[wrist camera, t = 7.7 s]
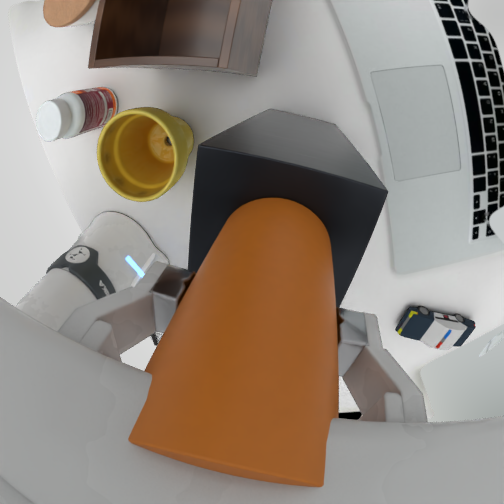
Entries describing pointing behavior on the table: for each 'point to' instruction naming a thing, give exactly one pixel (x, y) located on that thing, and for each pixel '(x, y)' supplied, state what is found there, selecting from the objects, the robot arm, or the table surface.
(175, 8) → the chest
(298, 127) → the stand
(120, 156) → the flower pot
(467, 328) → the toy car
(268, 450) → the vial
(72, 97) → the pill bottle
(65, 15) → the trinket box
